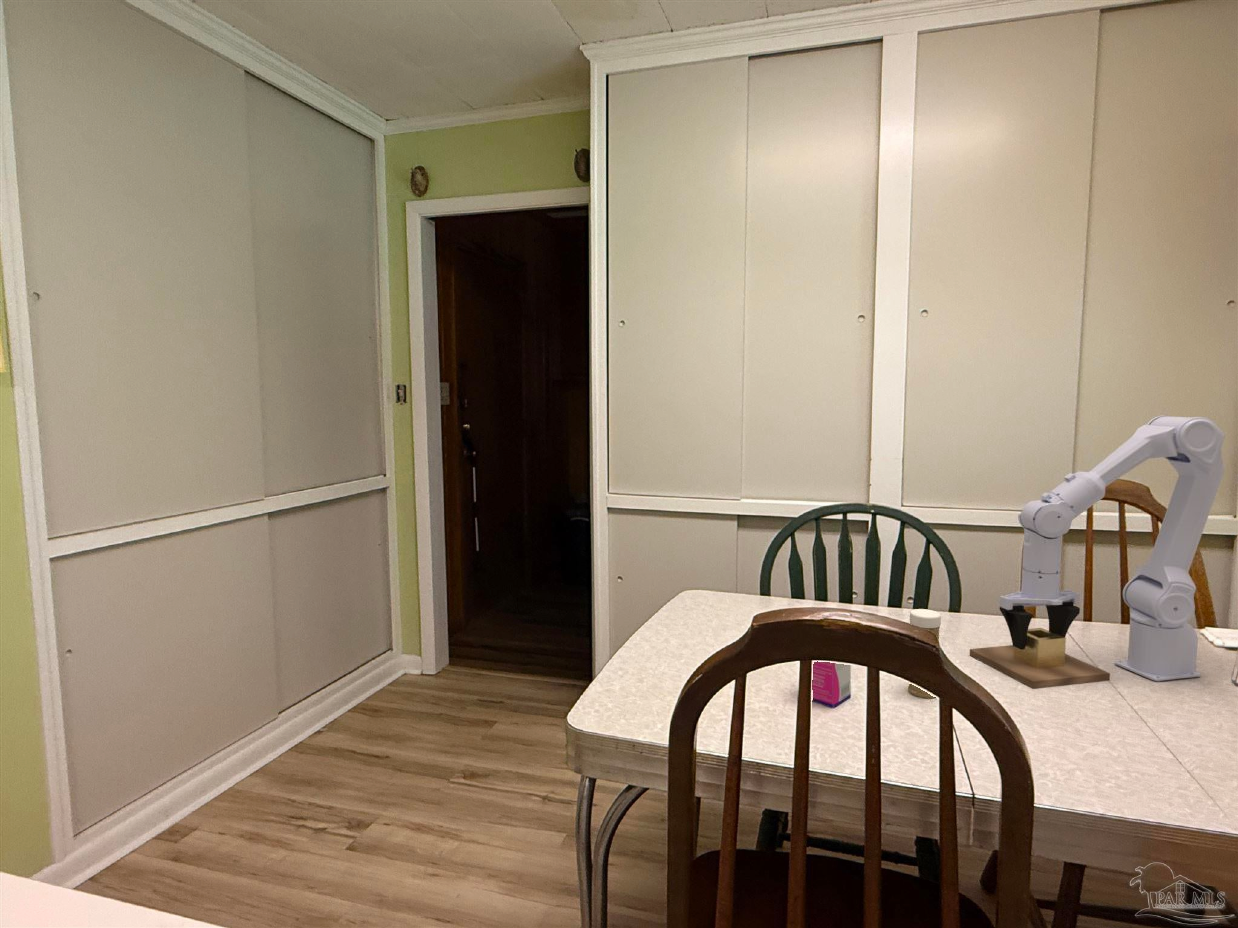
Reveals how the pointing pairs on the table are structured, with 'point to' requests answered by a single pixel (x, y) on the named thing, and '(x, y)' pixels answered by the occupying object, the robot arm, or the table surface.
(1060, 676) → the post stand
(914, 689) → the sprinkles bottle
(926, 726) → the table surface
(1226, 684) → the table surface
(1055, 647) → the small tan open box
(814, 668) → the supplement box
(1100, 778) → the table surface
